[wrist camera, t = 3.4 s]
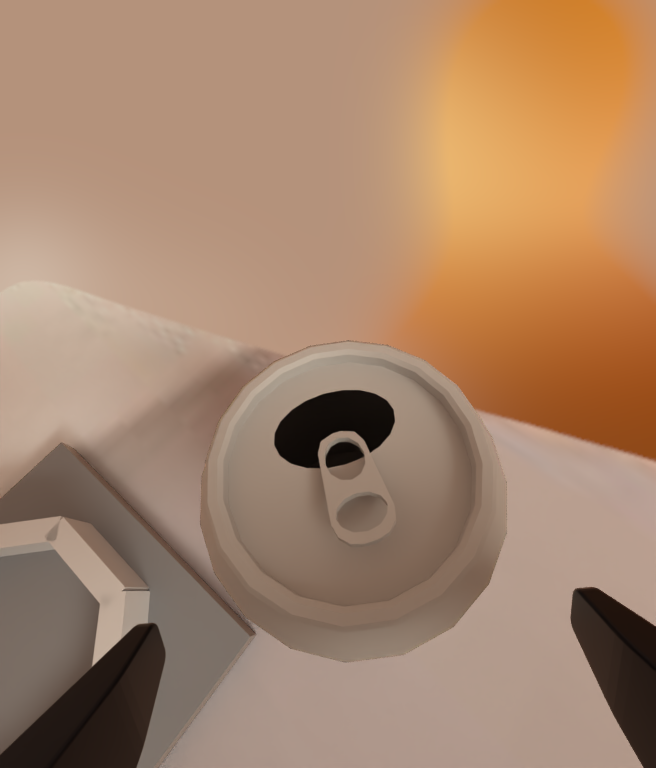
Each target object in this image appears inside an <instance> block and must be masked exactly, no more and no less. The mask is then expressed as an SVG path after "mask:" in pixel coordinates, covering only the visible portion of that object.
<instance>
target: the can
mask: <svg viewBox="0 0 656 768" xmlns="http://www.w3.org/2000/svg"><path fill="white" fill-rule="evenodd" d="M200 525H201V529H202V532H203V536H204V539H205V543H206V546H207V549H208V553H209V556H210V560H211V563H212V567H213V570H214V573H215V575H216V576H217V578H218V579H219V580H220V582H221V583H222V585H223V586H224V587H225V589H226V590H227V592H228V593H229V595H230V596H231V597H232V599H233V600H234V602H235V603H236V605H237V606H238V607H239V609H240V610H241V612H242V613H243V615H244V616H245V617H246V618H248V619H249V620H250V621H252V622H253V623H255V624H256V625H258V626H259V627H260V628H262V629H263V630H265V631H266V632H268V633H269V634H270V635H272V636H273V637H275V638H276V639H278V640H279V641H280V642H282V643H283V644H285V645H286V646H288V647H289V648H290V649H294V650H298V651H302V652H306V653H310V654H314V655H318V656H322V657H326V658H330V659H334V660H338V661H342V662H354V661H362V660H369V659H377V658H385V657H392V656H400V655H404V654H406V653H408V652H410V651H411V650H413V649H415V648H417V647H419V646H420V645H422V644H424V643H426V642H428V641H429V640H431V639H433V638H435V637H437V636H438V635H440V634H442V633H444V632H445V631H447V630H449V629H451V628H453V627H454V626H455V624H456V623H457V622H458V621H459V620H460V618H461V617H462V616H463V615H464V614H465V612H466V611H467V610H468V609H469V607H470V606H471V605H472V604H473V603H474V601H475V600H476V599H477V598H478V597H479V595H480V594H481V593H482V592H483V591H484V589H485V588H486V587H487V586H488V585H489V582H490V579H491V577H492V574H493V571H494V568H495V565H496V562H497V559H498V557H499V554H500V551H501V548H502V545H503V542H504V539H505V536H506V534H507V481H506V478H505V475H504V472H503V469H502V466H501V463H500V460H499V457H498V454H497V451H496V448H495V445H494V442H493V439H492V436H491V434H490V433H489V431H488V430H487V429H486V427H485V426H484V423H483V421H482V419H481V418H480V417H479V415H478V414H477V412H476V411H475V410H474V408H473V407H472V405H471V404H470V403H469V401H468V400H467V398H466V397H465V396H464V394H463V393H462V391H461V390H460V388H459V387H458V386H457V385H456V384H454V383H453V382H452V381H451V380H450V379H448V378H447V377H446V376H444V375H443V374H442V373H440V372H439V371H438V370H437V369H435V368H434V367H433V366H432V365H430V364H429V363H428V362H427V361H425V360H423V359H421V358H418V357H416V356H413V355H411V354H408V353H406V352H403V351H401V350H398V349H396V348H394V347H391V346H389V345H383V344H374V343H366V342H358V341H349V340H348V341H341V342H334V343H327V344H321V345H314V346H309V347H306V348H304V349H302V350H300V351H297V352H295V353H293V354H290V355H288V356H286V357H283V358H281V359H279V360H277V361H274V362H273V363H272V364H270V365H269V366H268V367H267V368H265V369H264V370H263V371H262V372H260V373H259V374H258V375H257V376H255V377H254V378H253V379H252V380H251V381H249V382H248V383H247V384H246V385H244V386H243V387H242V389H241V390H240V391H239V393H238V394H237V396H236V397H235V398H234V400H233V401H232V403H231V404H230V406H229V407H228V408H227V410H226V411H225V413H224V414H223V415H222V417H221V418H220V420H219V422H218V425H217V428H216V431H215V434H214V437H213V440H212V443H211V446H210V449H209V452H208V454H207V457H206V460H205V468H204V471H203V474H202V480H201V515H200Z"/></svg>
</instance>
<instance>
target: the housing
mask: <svg viewBox="0 0 656 768" xmlns="http://www.w3.org/2000/svg"><path fill="white" fill-rule="evenodd" d="M143 623H155V624H157V625H158V628H159V631H160V634H161V637H162V640H163V643H164V647H165V651H166V658H165V664H164V668H163V672H162V676H161V680H160V684H159V688H158V692H157V696H156V700H155V704H154V708H153V712H152V716H151V720H150V724H149V728H148V732H147V736H146V740H145V743H144V747H143V750H142V753H141V756H140V759H139V762H138V765H137V768H158V767H159V766H160V765H161V763H162V762H163V760H164V759H165V758H166V756H167V755H168V754H169V752H170V751H171V750H172V748H173V747H174V746H175V744H176V743H177V741H178V740H179V739H180V737H181V736H182V735H183V733H184V732H185V731H186V729H187V728H188V726H189V725H190V724H191V722H192V721H193V720H194V718H195V717H196V716H197V714H198V713H199V712H200V710H201V709H202V707H203V706H204V705H205V703H206V702H207V701H208V699H209V698H210V697H211V695H212V694H213V692H214V691H215V690H216V688H217V687H218V686H219V684H220V683H221V682H222V680H223V679H224V677H225V676H226V675H227V673H228V672H229V671H230V669H231V668H232V667H233V665H234V664H235V663H236V661H237V660H238V658H239V657H240V656H241V654H242V653H243V652H244V650H245V649H246V648H247V646H248V645H249V643H250V642H251V641H252V639H253V638H254V637H255V635H256V634H255V633H254V632H253V631H252V630H251V629H250V628H249V627H248V626H247V624H246V623H245V622H244V621H243V620H242V619H241V618H240V617H239V616H238V615H237V614H236V613H235V612H234V611H233V610H232V609H231V608H230V607H229V606H228V605H227V604H226V603H225V602H224V601H223V600H222V599H221V598H220V597H219V596H218V595H217V594H216V593H215V592H214V591H213V590H212V589H211V588H210V587H209V586H208V585H207V584H206V583H205V582H204V581H203V580H202V579H201V578H200V577H199V576H198V575H197V574H196V573H195V572H194V571H193V570H192V569H191V568H190V567H189V565H188V564H187V563H186V562H185V561H184V560H183V559H182V558H181V557H180V556H179V555H178V554H177V553H176V552H175V551H174V550H173V549H172V548H171V547H170V546H169V545H168V544H167V543H166V542H165V541H164V540H163V539H162V538H161V537H160V536H159V535H158V534H157V533H156V532H155V531H154V530H153V529H152V528H151V527H150V526H149V525H148V524H147V523H146V522H145V521H144V520H143V519H142V518H141V517H140V516H139V515H138V514H137V513H136V512H135V511H134V510H133V509H132V507H131V506H130V505H129V504H128V503H127V502H126V501H125V500H124V499H123V498H122V497H121V496H120V495H119V494H118V493H117V492H116V491H115V490H114V489H113V488H112V487H111V486H110V485H109V484H108V483H107V482H106V481H105V480H104V479H103V478H102V477H101V476H100V475H99V474H98V473H97V472H96V471H95V470H94V469H93V468H92V467H91V466H90V465H89V464H88V463H87V462H86V461H85V460H84V459H83V458H82V457H81V456H80V455H79V454H78V453H77V452H76V451H75V450H74V448H72V447H69V446H67V445H65V444H63V443H60V444H59V445H58V446H57V447H56V448H55V449H54V450H53V451H52V452H51V453H49V454H48V455H47V456H46V457H45V458H44V459H43V460H42V461H41V462H40V463H39V464H38V465H37V466H36V467H34V468H33V469H32V470H31V471H30V472H29V473H28V474H27V475H26V476H25V477H24V478H23V479H22V480H20V481H19V482H18V483H17V484H16V485H15V486H14V487H13V488H12V489H11V490H10V491H9V492H8V493H6V494H5V495H4V496H3V497H2V498H1V499H0V754H1V753H2V752H3V751H4V750H5V749H6V748H7V747H8V746H9V745H10V744H11V743H13V742H14V741H15V740H16V739H17V738H18V737H19V736H20V735H21V734H22V733H23V732H24V731H25V730H26V729H27V728H28V727H29V726H30V725H31V724H32V723H33V722H35V721H36V720H37V719H38V718H39V717H40V716H41V715H42V714H43V713H44V712H45V711H46V710H47V709H48V708H49V707H50V706H51V705H52V704H53V703H54V702H55V701H57V700H58V699H59V698H60V697H61V696H62V695H63V694H64V693H65V692H66V691H67V690H68V689H69V688H70V687H71V686H72V685H73V684H74V683H75V682H76V681H78V680H79V679H80V678H81V677H82V676H83V675H84V674H85V673H86V672H87V671H88V670H89V669H90V668H91V667H92V666H93V665H94V664H95V663H96V662H97V661H98V660H100V659H101V658H102V657H103V656H104V655H105V654H106V653H107V652H108V651H109V650H110V649H111V648H112V647H113V646H114V645H115V644H116V643H117V642H118V641H119V640H120V639H122V638H123V637H124V636H125V635H126V634H127V633H128V632H129V631H130V630H131V629H132V628H133V627H134V626H136V625H138V624H143Z"/></svg>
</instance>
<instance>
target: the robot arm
mask: <svg viewBox="0 0 656 768" xmlns="http://www.w3.org/2000/svg"><path fill="white" fill-rule="evenodd" d="M571 624H572V627H573V630H574V632H575V635H576V637H577V639H578V641H579V643H580V645H581V647H582V650H583V652H584V654H585V656H586V658H587V660H588V662H589V665H590V667H591V669H592V671H593V673H594V675H595V677H596V679H597V682H598V684H599V686H600V688H601V690H602V692H603V694H604V697H605V699H606V701H607V703H608V705H609V707H610V709H611V711H612V713H613V715H614V717H615V718H616V720H617V722H618V724H619V726H620V727H621V729H622V731H623V733H624V734H625V736H626V738H627V740H628V741H629V743H630V745H631V747H632V748H633V750H634V752H635V754H636V755H637V757H638V759H639V760H640V762H641V764H642V766H643V767H644V768H656V626H654V625H653V624H651V623H650V622H648V621H647V620H645V619H644V618H642V617H641V616H639V615H638V614H636V613H635V612H633V611H632V610H630V609H628V608H627V607H625V606H624V605H622V604H621V603H619V602H618V601H616V600H615V599H613V598H612V597H610V596H609V595H607V594H606V593H604V592H603V591H601V590H599V589H597V588H595V587H585V588H577V589H575V590H574V591H573V597H572V608H571ZM165 658H166V651H165V647H164V643H163V640H162V637H161V634H160V631H159V628H158V625H157V624H155V623H143V624H138V625H136V626H134V627H133V628H132V629H131V630H130V631H129V632H128V633H127V634H126V635H125V636H124V637H123V638H122V639H120V640H119V641H118V642H117V643H116V644H115V645H114V646H113V647H112V648H111V649H110V650H109V651H108V652H107V653H106V654H105V655H104V656H103V657H102V658H101V659H100V660H98V661H97V662H96V663H95V664H94V665H93V666H92V667H91V668H90V669H89V670H88V671H87V672H86V673H85V674H84V675H83V676H82V677H81V678H80V679H79V680H78V681H76V682H75V683H74V684H73V685H72V686H71V687H70V688H69V689H68V690H67V691H66V692H65V693H64V694H63V695H62V696H61V697H60V698H59V699H58V700H57V701H55V702H54V703H53V704H52V705H51V706H50V707H49V708H48V709H47V710H46V711H45V712H44V713H43V714H42V715H41V716H40V717H39V718H38V719H37V720H36V721H35V722H33V723H32V724H31V725H30V726H29V727H28V728H27V729H26V730H25V731H24V732H23V733H22V734H21V735H20V736H19V737H18V738H17V739H16V740H15V741H14V742H13V743H11V744H10V745H9V746H8V747H7V748H6V749H5V750H4V751H3V752H2V753H1V754H0V768H137V765H138V762H139V759H140V756H141V753H142V750H143V747H144V743H145V740H146V736H147V732H148V728H149V724H150V720H151V716H152V712H153V708H154V704H155V700H156V696H157V692H158V688H159V684H160V680H161V676H162V672H163V668H164V664H165Z"/></svg>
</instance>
